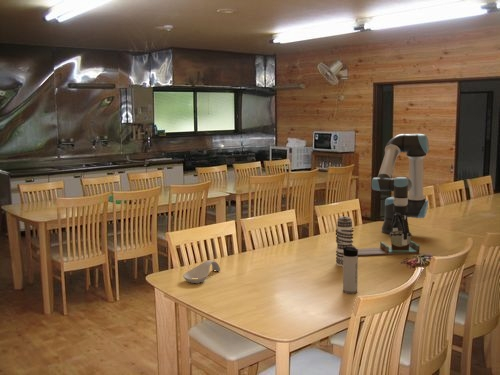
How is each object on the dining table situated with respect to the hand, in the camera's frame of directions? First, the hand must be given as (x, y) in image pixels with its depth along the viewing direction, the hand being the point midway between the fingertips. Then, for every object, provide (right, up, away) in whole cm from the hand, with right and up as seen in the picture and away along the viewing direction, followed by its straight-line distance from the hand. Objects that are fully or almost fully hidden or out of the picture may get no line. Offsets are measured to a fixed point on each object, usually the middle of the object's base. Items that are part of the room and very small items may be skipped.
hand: (399, 242), depth 284 cm
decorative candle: (-35, -10, -21) cm, 42 cm away
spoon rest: (-107, -14, -39) cm, 115 cm away
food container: (0, -4, +1) cm, 4 cm away
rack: (-9, -6, 0) cm, 10 cm away
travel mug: (-40, -15, -62) cm, 75 cm away
